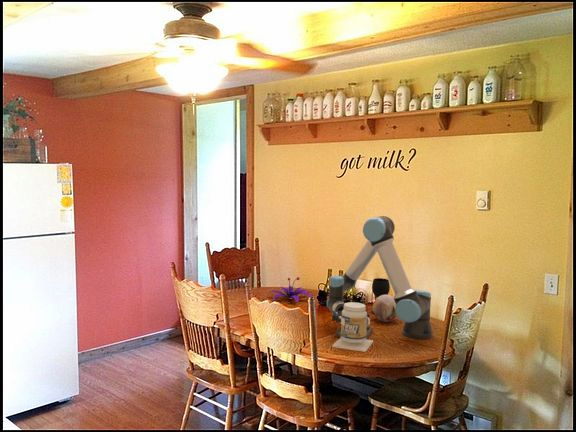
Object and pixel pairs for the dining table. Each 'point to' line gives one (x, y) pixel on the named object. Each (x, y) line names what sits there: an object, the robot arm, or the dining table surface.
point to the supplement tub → (354, 322)
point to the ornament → (385, 308)
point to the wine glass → (380, 287)
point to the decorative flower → (291, 292)
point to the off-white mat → (353, 345)
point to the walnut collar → (368, 333)
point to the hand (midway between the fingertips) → (356, 322)
